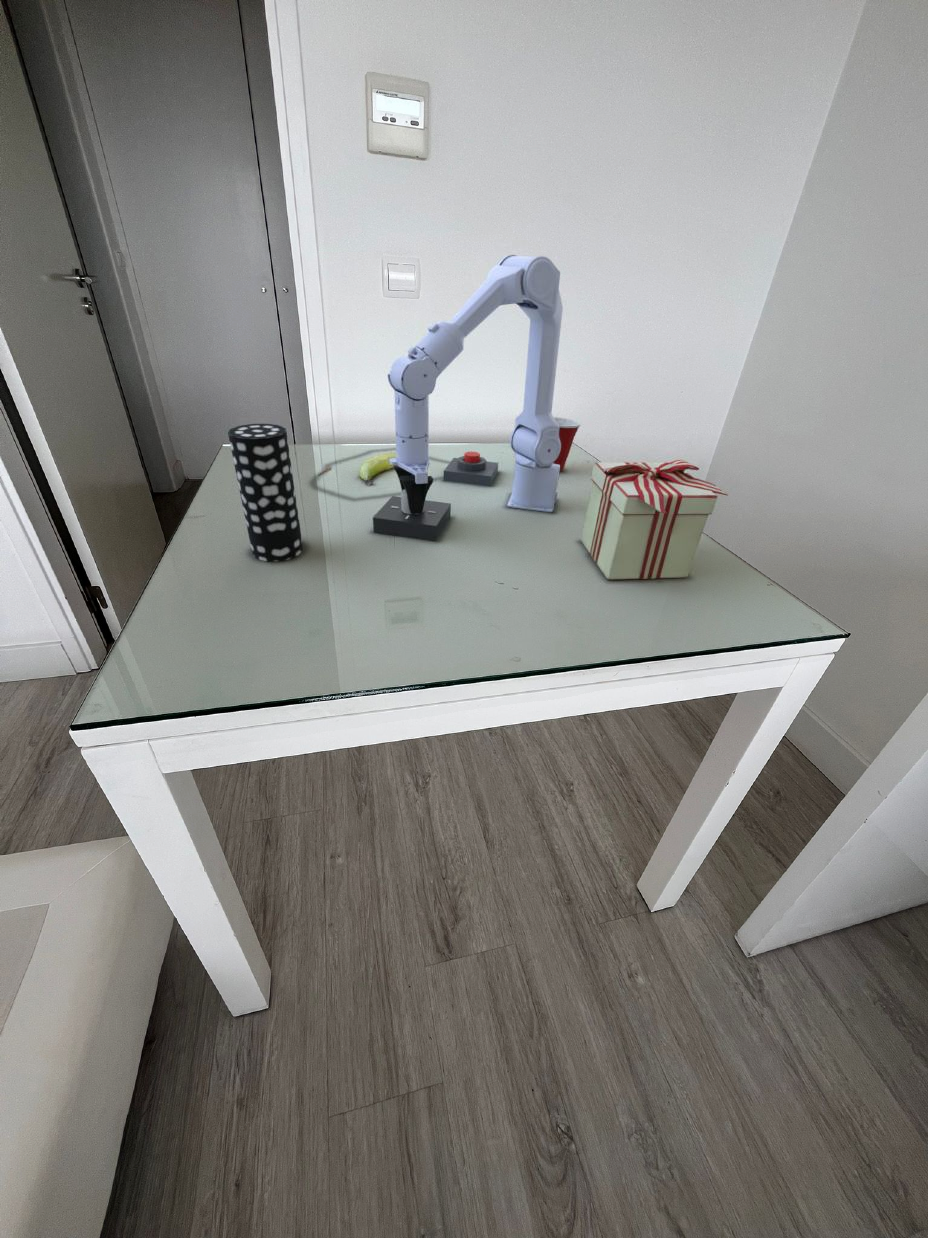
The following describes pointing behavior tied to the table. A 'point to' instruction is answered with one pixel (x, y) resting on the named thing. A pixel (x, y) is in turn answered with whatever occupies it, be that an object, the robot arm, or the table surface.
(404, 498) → the timer knob
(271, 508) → the spotted tube
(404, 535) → the timer panel
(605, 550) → the gift box
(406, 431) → the robot arm
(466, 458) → the power button
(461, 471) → the switch block
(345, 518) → the table surface
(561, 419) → the plastic cup
